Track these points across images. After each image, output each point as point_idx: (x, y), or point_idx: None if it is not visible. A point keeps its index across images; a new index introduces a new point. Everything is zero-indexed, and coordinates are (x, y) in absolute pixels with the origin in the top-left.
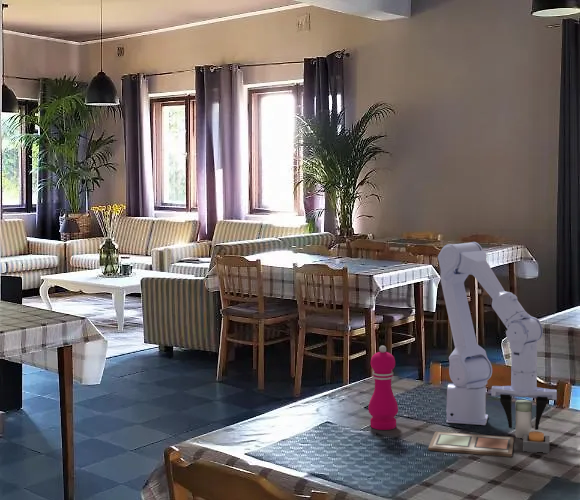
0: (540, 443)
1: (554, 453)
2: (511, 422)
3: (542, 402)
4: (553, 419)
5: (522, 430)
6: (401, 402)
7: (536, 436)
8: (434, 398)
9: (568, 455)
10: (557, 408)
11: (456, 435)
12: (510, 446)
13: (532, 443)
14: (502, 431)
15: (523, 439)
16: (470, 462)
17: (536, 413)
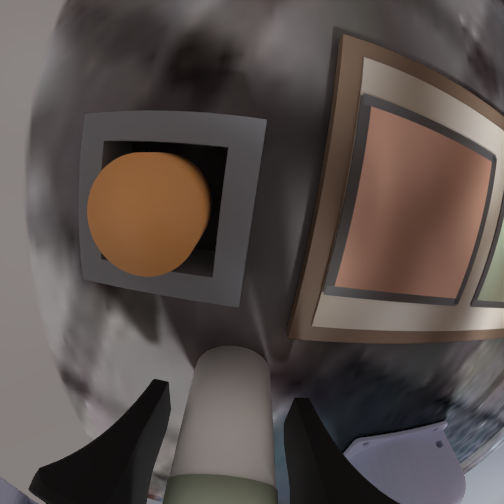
0: (137, 111)
1: None
2: (301, 418)
3: (49, 498)
4: None
5: (238, 377)
6: None
7: (144, 152)
8: None
9: (46, 120)
10: (149, 492)
11: (502, 306)
12: (340, 168)
13: (193, 112)
14: None
15: (255, 177)
16: (482, 27)
17: (130, 451)
